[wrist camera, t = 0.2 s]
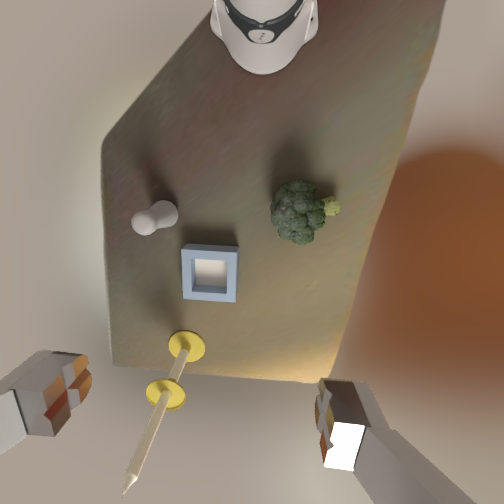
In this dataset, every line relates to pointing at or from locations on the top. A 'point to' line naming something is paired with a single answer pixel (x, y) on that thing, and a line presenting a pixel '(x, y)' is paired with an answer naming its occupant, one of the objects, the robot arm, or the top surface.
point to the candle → (165, 396)
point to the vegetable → (300, 211)
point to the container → (210, 272)
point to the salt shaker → (155, 217)
